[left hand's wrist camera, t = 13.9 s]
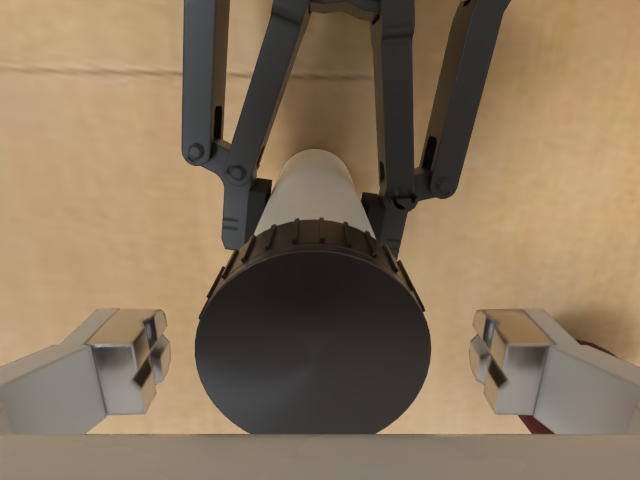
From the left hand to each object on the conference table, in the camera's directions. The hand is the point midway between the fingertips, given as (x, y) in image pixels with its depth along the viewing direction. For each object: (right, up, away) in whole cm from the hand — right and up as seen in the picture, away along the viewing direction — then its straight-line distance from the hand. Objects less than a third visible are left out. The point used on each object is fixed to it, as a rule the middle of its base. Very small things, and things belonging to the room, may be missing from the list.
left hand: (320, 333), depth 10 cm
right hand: (-1, -2, +11) cm, 11 cm away
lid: (0, 0, -1) cm, 1 cm away
